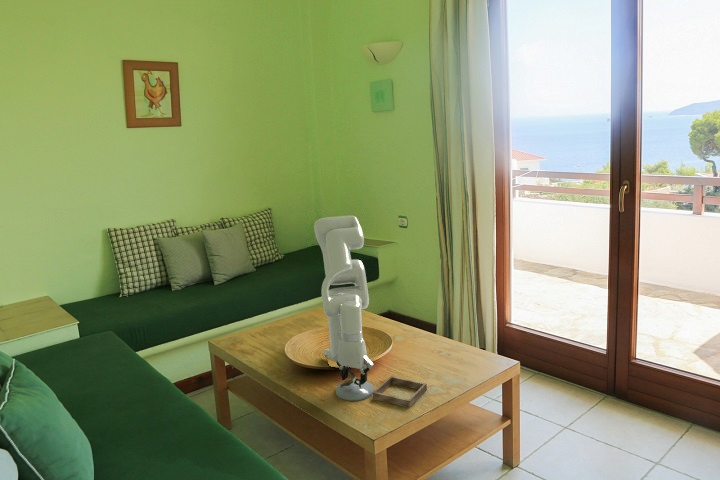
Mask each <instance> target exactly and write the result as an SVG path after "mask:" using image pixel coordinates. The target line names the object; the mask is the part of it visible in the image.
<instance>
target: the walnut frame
mask: <svg viewBox="0 0 720 480" xmlns="http://www.w3.org/2000/svg"><path fill="white" fill-rule="evenodd" d="M392 384H393V385H397V386H401V387H402V386H403V387H407V388H411V389H416V390H417V391H415V393H413V394H412V395H411V397H410V398H408V399H407V398H403V397H399V396H398V397H397V396H395V395H391V394H386V393H384V392H385V391H386V390H387V389H388V388H389V387H390V386H391V385H392ZM427 385H428V384H427V383H425V382H420V381H416V380H411V379H407V378H403V377H397V376H393V375H390V376H389V377H387V378H386V380H385V381H383V382H382V383H381V384H380V385H379V386H378V387H377V388H375V389H374V392H373V394H372V400H376V401H380V402H385V403H388V404H392V405H398V406H400V407H405V408H409V409H411V408H412V406H413V405H415V403H416V402H417V401H418V400H419V399H420V398H421V397H422V396H423V395H424V394H425V392H427V390H428V389H427V388H428V386H427Z"/></svg>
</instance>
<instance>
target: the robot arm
mask: <svg viewBox="0 0 720 480" xmlns="http://www.w3.org/2000/svg"><path fill="white" fill-rule="evenodd" d="M313 227H314V229H313V231H314V235H315V239H316V241H317V244H318V245H319V247H320V249H321V253H322V258H323V265H324V266H323V267H324V275H325V277H324V279H323V281H322V283H321V284H322V285H321V300H322V301H321V302H322V306H323V312H324V314H325V316H327V319H328V336H329V337H328V338H329V348H324V349H323V354H322V355H323V356H325V357H328V358H329V359H331V360H332V361H335V362H336V363H337V365H338V366H339V369H338V370H340V376H341V381H346V379H347V378H348V377H349V375H348V372H347V371H348V370H347V367H350V368H351V369H352V368H353V369H358V370H359V372H360V373H361V374H360V375H359V377H360V378H359V379H360V380H361V384H362V385H363V384H364V383H365V382H366V381H367V382H368V372H369V371H371V369H372V368H373V366H374V363H373V362H372V361H371V359H369V357H368V352H367V347H366V342H365V339H364V338H363V323H362V321H363V320H362V310H366V309H367V308H368V307H369V303H370V296H369V290H368V283H367V282H368V281H367V276H366V275H367V274H366V269H365V265H364V264H363V262H362V260H359V259H357V258H356V259H352V256H351V255H352V254H351V250H359V249H362V248H363V247H364V244H365V236H364V232H363V229H362V226H361V225H360V222H359V220H358V217H356V216H354V215H339V216H328V217H321V218H319V219H316V221H315V222H314V226H313ZM347 284H353V286H347V287H346V286H343V287H333V288H331V289H330V286H339V285H347ZM328 358H327V359H328ZM346 366H347V367H346Z"/></svg>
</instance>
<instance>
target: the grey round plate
mask: <svg viewBox="0 0 720 480" xmlns="http://www.w3.org/2000/svg"><path fill="white" fill-rule="evenodd" d="M342 383H343V382H341V383H339V384H338V385H337V386H336V388H335V395H336V396H337V397H338V398H339V399H341V400H344V401H348V402H349V401H350V402H358V401H363V400H366V399H369V398H370V397H371V396H373V392H374V391H375V387H374V385H373V384H372V383H371V382H368V380H367V381H366V382H365V383H364V384H363V385H362V384H361V389H360V387H359V385H357V384H353V383H351V384H350V385H349V386H342V387H341V386H340V385H341V384H342ZM357 383H358V384H359V381H357ZM352 384H353V385H352Z"/></svg>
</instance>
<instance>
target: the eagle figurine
mask: <svg viewBox="0 0 720 480" xmlns="http://www.w3.org/2000/svg"><path fill="white" fill-rule="evenodd" d="M350 368H351V367H350ZM350 368H349V367H347V370H348V371H347V372H348V377H349V378H351V379H349V380H348V379H347V380H343V382H341V383H342V384H341V383H340V384H341V385H340V386H341V387H342V386H349V385H350V384H351V383H353V384H357V385H359V387H360V389H361V380H360V378H357V376H356V375H355V373H354V372H353V371H352V370H351V369H350ZM357 381H359V384H358V383H357ZM353 384H352V385H353Z"/></svg>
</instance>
